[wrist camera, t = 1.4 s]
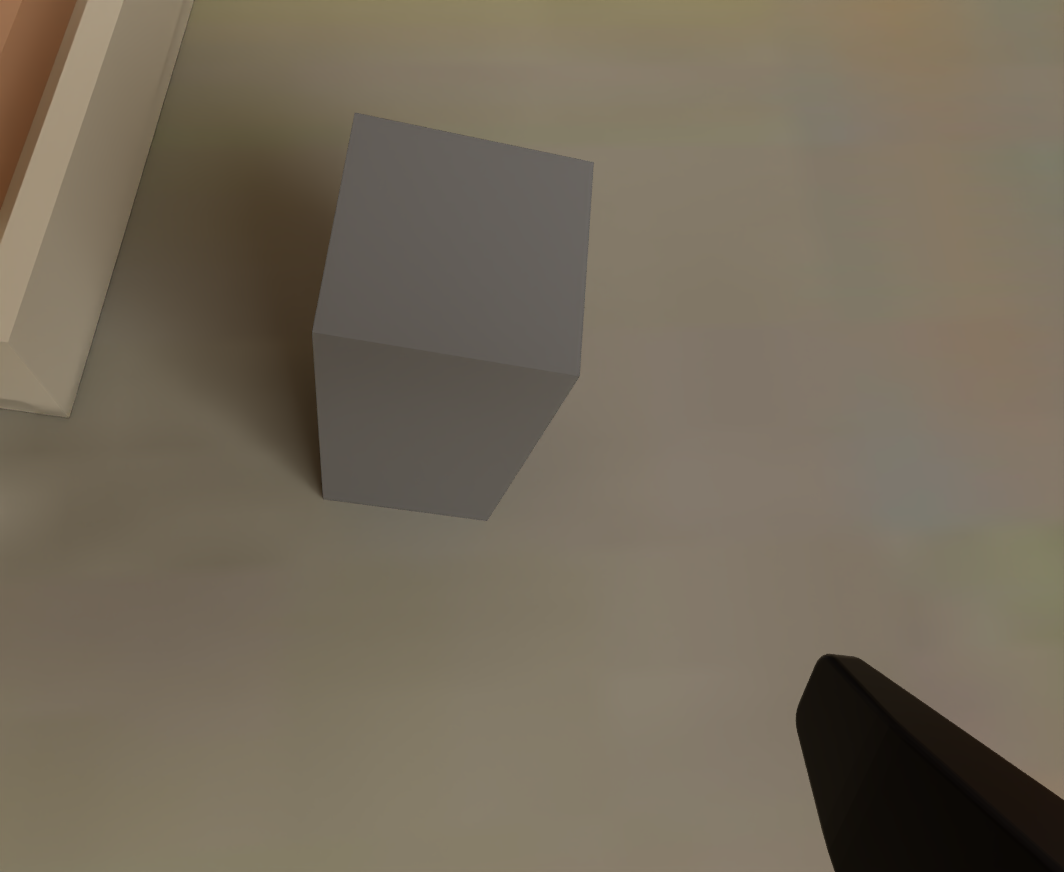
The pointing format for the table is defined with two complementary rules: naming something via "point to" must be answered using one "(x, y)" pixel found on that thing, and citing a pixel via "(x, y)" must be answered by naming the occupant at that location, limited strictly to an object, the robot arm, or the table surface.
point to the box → (71, 174)
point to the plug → (446, 315)
